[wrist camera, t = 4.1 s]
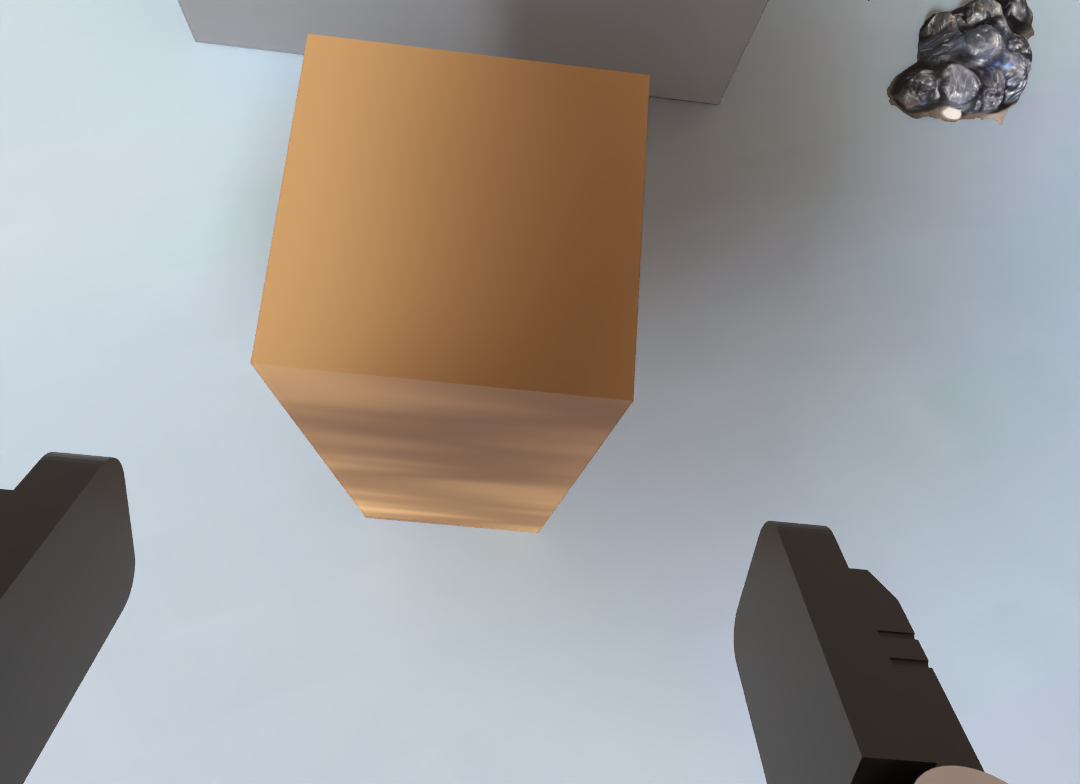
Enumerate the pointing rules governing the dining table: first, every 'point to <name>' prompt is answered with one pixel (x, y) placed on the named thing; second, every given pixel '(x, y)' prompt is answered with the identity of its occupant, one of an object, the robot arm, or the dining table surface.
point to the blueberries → (968, 63)
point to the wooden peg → (455, 276)
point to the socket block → (513, 32)
